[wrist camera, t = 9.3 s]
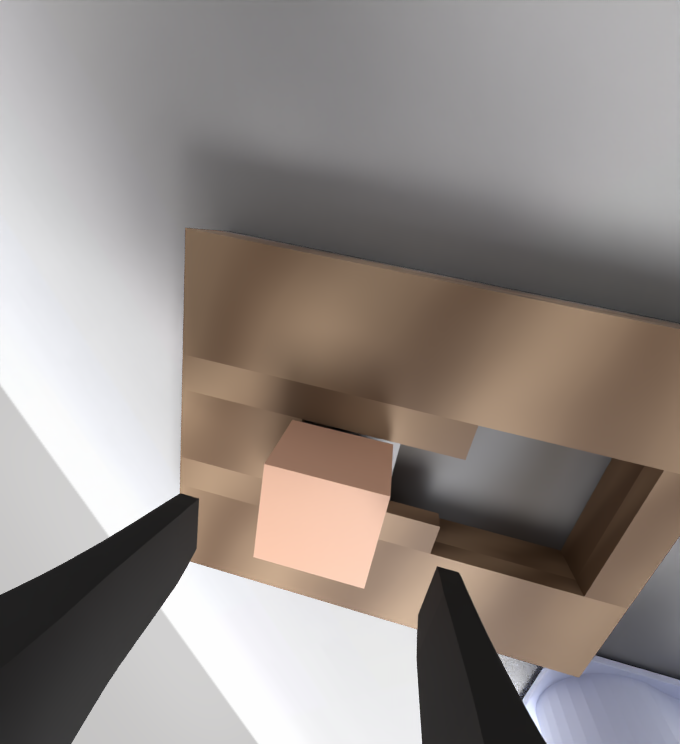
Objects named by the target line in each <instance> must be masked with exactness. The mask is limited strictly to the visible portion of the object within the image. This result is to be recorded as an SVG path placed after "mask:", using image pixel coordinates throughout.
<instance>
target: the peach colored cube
mask: <svg viewBox="0 0 680 744" xmlns="http://www.w3.org/2000/svg"><path fill="white" fill-rule="evenodd" d="M399 448H400V444H399V443H395V442H391V441H387V440H383V439H379V438H375V437H371V436H367V435H363V434H359V433H355V432H351V431H347V430H343V429H339V428H335V427H331V426H327V425H323V424H319V423H315V422H311V421H307V420H305V423H304V422H300V421H295V420H292V421H291V423H290V424H289V426H288V427H287V429H286V431H285V432H284V434H283V435H282V437H281V438H280V440H279V442H278V443H277V445H276V446H275V448H274V449H273V451H272V453H271V454H270V456H269V457H268V459H267V460H266V462H265V464H264V470H263V479H262V488H261V496H260V505H259V513H258V522H257V530H256V539H255V548H254V556H253V557H255V558H258V559H262V560H265V561H269V562H272V563H276V564H279V565H283V566H286V567H290V568H293V569H297V570H300V571H304V572H307V573H311V574H314V575H318V576H321V577H325V578H328V579H332V580H335V581H339V582H342V583H346V584H349V585H353V586H356V587H360V588H363V589H364V587H365V584H366V580H367V577H368V573H369V570H370V566H371V563H372V559H373V556H374V552H375V549H376V545H377V542H378V538H379V535H380V531H381V528H382V524H383V521H384V517H385V514H386V510H387V507H388V503H389V500H390V495H391V476H392V473H393V469H394V466H395V462H396V458H397V455H398V451H399Z"/></svg>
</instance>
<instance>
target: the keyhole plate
mask: <svg viewBox="0 0 680 744" xmlns="http://www.w3.org/2000/svg"><path fill="white" fill-rule="evenodd" d="M292 420H295V421H300V422H304V423H305V420H307V421H311V422H315V423H319V424H323V425H327V426H331V427H335V428H339V429H343V430H347V431H351V432H355V433H359V434H363V435H367V436H371V437H375V438H379V439H383V440H387V441H391V442H395V443H399V444H400V448H399V451H398V455H397V458H396V462H395V466H394V469H393V473H392V476H391V495H390V500H389V503H388V507H387V510H386V514H385V517H384V521H383V524H382V528H381V531H380V535H379V538H378V542H377V545H376V549H375V552H374V556H373V559H372V563H371V566H370V570H369V573H368V577H367V580H366V584H365V587H364V589H363V588H360V587H356V586H353V585H349V584H346V583H342V582H339V581H335V580H332V579H328V578H325V577H321V576H318V575H314V574H311V573H307V572H304V571H300V570H297V569H293V568H290V567H286V566H283V565H279V564H276V563H272V562H269V561H265V560H262V559H258V558H255V557H253V556H254V548H255V539H256V530H257V522H258V513H259V505H260V496H261V488H262V479H263V470H264V464H265V462H266V460H267V459H268V457H269V456H270V454H271V453H272V451H273V449H274V448H275V446H276V445H277V443H278V442H279V440H280V438H281V437H282V435H283V434H284V432H285V431H286V429H287V427H288V426H289V424H290V423H291V421H292ZM180 493H181V494H185V495H188V496H192V497H195V498H199V513H198V533H197V549H196V551H195V553H194V555H193V557H192V558H191V560H190V561H191V562H194V563H197V564H201V565H204V566H207V567H211V568H214V569H217V570H221V571H224V572H227V573H231V574H234V575H237V576H241V577H244V578H247V579H251V580H254V581H257V582H261V583H264V584H267V585H271V586H274V587H277V588H281V589H284V590H288V591H291V592H294V593H298V594H301V595H304V596H308V597H311V598H314V599H318V600H321V601H324V602H328V603H331V604H334V605H338V606H341V607H344V608H348V609H351V610H354V611H358V612H361V613H364V614H368V615H371V616H374V617H378V618H381V619H384V620H388V621H391V622H394V623H398V624H401V625H404V626H408V627H411V628H414V629H417V627H418V614H419V611H420V608H421V606H422V603H423V601H424V598H425V596H426V593H427V590H428V588H429V585H430V583H431V580H432V578H433V575H434V573H435V570H436V567H437V566H438V567H442V568H445V569H449V570H453V571H456V572H459V573H460V575H461V577H462V579H463V581H464V584H465V586H466V588H467V590H468V593H469V595H470V597H471V599H472V602H473V604H474V606H475V608H476V610H477V613H478V615H479V617H480V619H481V621H482V623H483V625H484V628H485V630H486V632H487V634H488V636H489V638H490V640H491V642H492V644H493V646H494V648H495V650H496V652H497V653H498V654H501V655H505V656H508V657H511V658H515V659H518V660H521V661H525V662H528V663H531V664H535V665H538V666H541V667H545V668H548V669H552V670H555V671H558V672H562V673H565V674H568V675H572V676H575V677H578V678H579V677H580V676H581V674H582V673H583V672H584V670H585V669H586V667H587V666H588V664H589V663H590V662H591V660H592V659H593V657H594V656H595V655H596V653H597V652H598V650H599V649H600V648H601V646H602V645H603V643H604V642H605V641H606V639H607V638H608V636H609V635H610V634H611V632H612V631H613V629H614V628H615V627H616V625H617V624H618V622H619V621H620V619H621V618H622V617H623V615H624V614H625V612H626V611H627V610H628V608H629V607H630V605H631V604H632V603H633V601H634V600H635V598H636V597H637V596H638V594H639V593H640V591H641V590H642V589H643V587H644V586H645V584H646V583H647V582H648V580H649V579H650V577H651V576H652V574H653V573H654V572H655V570H656V569H657V567H658V566H659V565H660V563H661V562H662V560H663V559H664V558H665V556H666V555H667V553H668V552H669V551H670V549H671V548H672V546H673V545H674V544H675V542H676V541H677V539H678V538H679V537H680V323H675V322H670V321H665V320H660V319H656V318H651V317H646V316H641V315H636V314H631V313H626V312H621V311H616V310H611V309H606V308H602V307H597V306H592V305H587V304H582V303H577V302H572V301H567V300H562V299H557V298H553V297H548V296H543V295H538V294H533V293H528V292H523V291H518V290H513V289H508V288H503V287H499V286H494V285H489V284H484V283H479V282H474V281H469V280H464V279H459V278H454V277H449V276H445V275H440V274H435V273H430V272H425V271H420V270H415V269H410V268H405V267H400V266H396V265H391V264H386V263H381V262H376V261H371V260H366V259H361V258H356V257H351V256H346V255H342V254H337V253H332V252H327V251H322V250H317V249H312V248H307V247H302V246H297V245H292V244H288V243H283V242H278V241H273V240H268V239H263V238H258V237H253V236H248V235H243V234H239V233H234V232H229V231H218V230H205V229H193V228H185V272H184V320H183V367H182V415H181V463H180Z"/></svg>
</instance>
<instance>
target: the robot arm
mask: <svg viewBox="0 0 680 744" xmlns="http://www.w3.org/2000/svg"><path fill="white" fill-rule="evenodd" d="M198 513H199V498H195V497H192V496H188V495H185V494H181V493H180V494H178V495H177V496H175V497H173V498H172V499H170V500H169V501H167V502H165V503H164V504H162V505H161V506H159V507H157V508H156V509H154V510H153V511H151V512H150V513H148V514H146V515H145V516H143V517H142V518H140V519H138V520H137V521H135V522H134V523H132V524H130V525H129V526H127V527H125V528H124V529H122V530H121V531H119V532H117V533H116V534H114V535H112V536H111V537H109V538H107V539H106V540H104V541H103V542H101V543H99V544H97V545H96V546H94V547H92V548H90V549H88V550H86V551H85V552H83V553H81V554H79V555H77V556H76V557H74V558H72V559H70V560H69V561H67V562H65V563H63V564H61V565H59V566H58V567H56V568H54V569H52V570H50V571H48V572H46V573H44V574H42V575H40V576H38V577H36V578H34V579H32V580H30V581H28V582H26V583H24V584H22V585H20V586H18V587H16V588H14V589H12V590H10V591H8V592H5V593H3V594H1V595H0V744H71V743H72V741H73V740H74V738H75V736H76V735H77V733H78V731H79V730H80V728H81V726H82V725H83V723H84V721H85V720H86V718H87V716H88V715H89V713H90V711H91V710H92V708H93V706H94V705H95V703H96V701H97V700H98V698H99V696H100V695H101V693H102V691H103V690H104V688H105V687H106V685H107V683H108V682H109V680H110V679H111V677H112V676H113V674H114V673H115V671H116V670H117V668H118V667H119V665H120V664H121V662H122V661H123V660H124V658H125V657H126V656H127V654H128V653H129V651H130V650H131V648H132V647H133V646H134V644H135V643H136V641H137V640H138V638H139V637H140V636H141V634H142V633H143V632H144V630H145V629H146V627H147V626H148V625H149V623H150V622H151V620H152V619H153V617H154V616H155V615H156V613H157V612H158V610H159V609H160V608H161V606H162V605H163V603H164V602H165V600H166V599H167V598H168V596H169V595H170V593H171V592H172V590H173V589H174V588H175V586H176V585H177V583H178V581H179V580H180V578H181V576H182V574H183V573H184V571H185V569H186V568H187V566H188V564H189V562H190V560H191V558H192V557H193V555H194V553H195V551H196V549H197V533H198ZM417 672H418V688H419V703H420V717H421V732H422V744H680V680H678V679H674V678H671V677H668V676H664V675H661V674H657V673H654V672H650V671H647V670H644V669H640V668H637V667H633V666H630V665H627V664H623V663H620V662H616V661H613V660H609V659H606V658H603V657H599V656H596V655H595V656H594V657H593V659H592V660H591V662H590V663H589V664H588V666H587V667H586V669H585V670H584V672H583V673H582V674H581V676H580V677H579V678H578V677H575V676H572V675H568V674H565V673H562V672H558V671H555V670H552V669H548V668H545V667H543V669H542V670H541V672H540V673H539V675H538V676H537V678H536V680H535V681H534V683H533V684H532V686H531V687H530V689H529V690H528V692H527V694H526V695H525V697H524V698H523V700H521V698H520V696H519V694H518V692H517V691H516V689H515V687H514V685H513V683H512V681H511V679H510V677H509V675H508V674H507V672H506V670H505V668H504V666H503V664H502V662H501V660H500V658H499V656H498V654H497V652H496V650H495V648H494V646H493V644H492V642H491V640H490V638H489V636H488V634H487V632H486V630H485V628H484V625H483V623H482V621H481V619H480V617H479V615H478V613H477V610H476V608H475V606H474V604H473V602H472V599H471V597H470V595H469V593H468V590H467V588H466V586H465V584H464V581H463V579H462V577H461V575H460V573H459V572H456V571H453V570H449V569H445V568H442V567H438V566H437V567H436V570H435V573H434V575H433V578H432V580H431V583H430V585H429V588H428V590H427V593H426V596H425V598H424V601H423V603H422V606H421V608H420V611H419V614H418V627H417Z"/></svg>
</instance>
